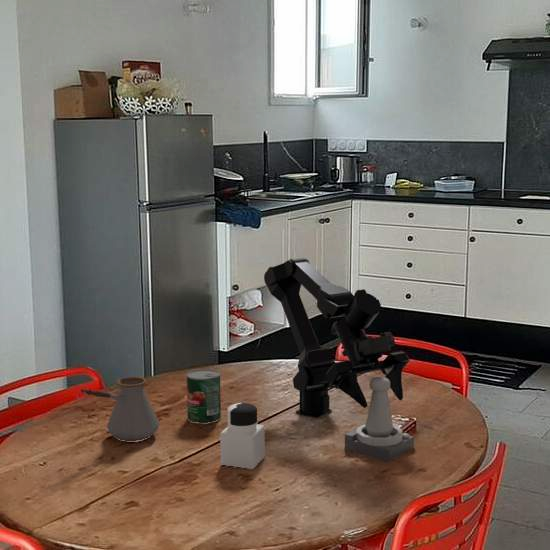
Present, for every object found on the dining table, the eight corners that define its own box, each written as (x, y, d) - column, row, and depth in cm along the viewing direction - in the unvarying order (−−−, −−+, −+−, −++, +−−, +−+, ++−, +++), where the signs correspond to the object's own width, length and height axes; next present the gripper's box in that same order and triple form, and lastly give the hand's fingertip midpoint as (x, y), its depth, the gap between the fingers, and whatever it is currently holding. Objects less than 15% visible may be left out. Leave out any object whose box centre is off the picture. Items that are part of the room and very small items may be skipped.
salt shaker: (396, 441, 180) (397, 381, 177) (370, 443, 179) (371, 383, 176) (387, 431, 185) (388, 373, 183) (361, 433, 184) (362, 375, 182)
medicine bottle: (265, 457, 178) (264, 402, 176) (253, 470, 172) (252, 413, 169) (233, 453, 180) (232, 398, 178) (220, 466, 174) (219, 409, 172)
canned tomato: (181, 422, 199) (180, 376, 197) (196, 411, 207) (195, 367, 205) (212, 426, 196) (211, 380, 194) (226, 415, 204) (226, 371, 202)
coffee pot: (131, 424, 198) (129, 361, 195) (170, 433, 192) (168, 369, 189) (63, 454, 180) (59, 385, 178) (102, 465, 174) (99, 395, 172)
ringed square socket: (344, 449, 182) (344, 431, 181) (369, 436, 190) (370, 419, 189) (389, 462, 175) (389, 443, 174) (413, 447, 183) (414, 429, 182)
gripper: (333, 325, 176) (363, 391, 169) (405, 315, 185) (437, 377, 178) (312, 353, 184) (340, 417, 177) (383, 342, 193) (412, 402, 186)
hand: (384, 403), depth 179 cm, fingers open, 9 cm apart
